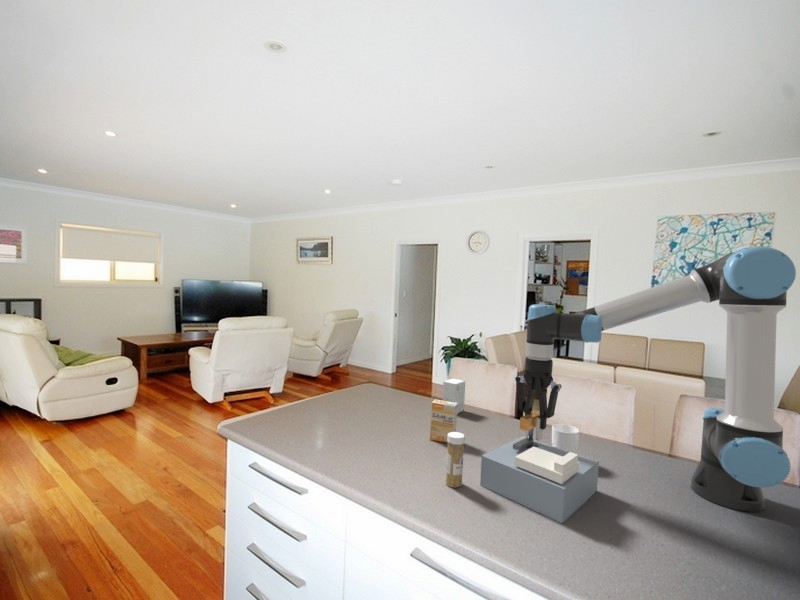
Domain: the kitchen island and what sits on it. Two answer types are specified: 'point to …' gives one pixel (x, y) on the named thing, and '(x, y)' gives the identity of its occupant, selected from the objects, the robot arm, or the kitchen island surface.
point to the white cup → (565, 437)
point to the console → (538, 481)
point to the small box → (454, 392)
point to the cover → (548, 464)
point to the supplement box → (443, 419)
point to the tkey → (528, 425)
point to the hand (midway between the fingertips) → (534, 437)
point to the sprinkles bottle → (454, 459)
